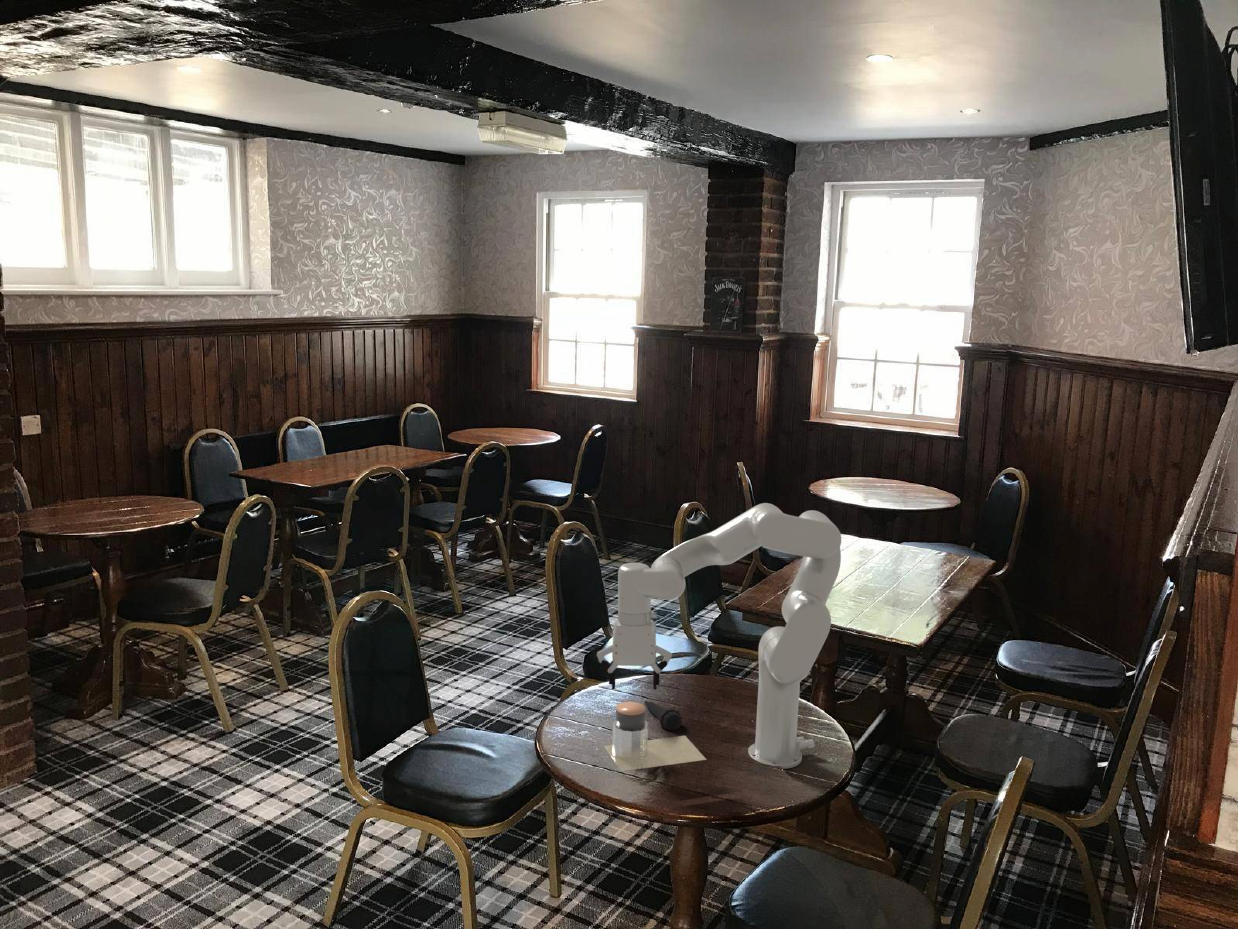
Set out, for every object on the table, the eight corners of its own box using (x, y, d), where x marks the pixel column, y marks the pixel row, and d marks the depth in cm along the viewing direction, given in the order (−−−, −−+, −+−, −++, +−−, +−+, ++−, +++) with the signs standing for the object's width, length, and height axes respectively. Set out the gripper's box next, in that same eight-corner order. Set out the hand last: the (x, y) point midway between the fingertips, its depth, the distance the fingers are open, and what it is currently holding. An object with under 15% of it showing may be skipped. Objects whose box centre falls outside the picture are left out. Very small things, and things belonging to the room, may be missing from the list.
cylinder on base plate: (684, 739, 242) (686, 708, 241) (706, 763, 230) (707, 731, 229) (603, 750, 235) (604, 718, 234) (621, 775, 223) (622, 742, 222)
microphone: (639, 716, 262) (668, 739, 244) (633, 696, 262) (662, 718, 243) (657, 707, 264) (688, 729, 245) (651, 688, 263) (681, 709, 244)
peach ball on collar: (638, 728, 236) (639, 700, 235) (648, 740, 230) (649, 712, 229) (611, 731, 234) (612, 703, 233) (620, 744, 228) (621, 715, 226)
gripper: (671, 612, 230) (670, 681, 233) (597, 611, 231) (597, 680, 234) (672, 622, 223) (671, 694, 226) (596, 622, 223) (596, 693, 226)
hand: (634, 687), depth 230 cm, fingers open, 9 cm apart
